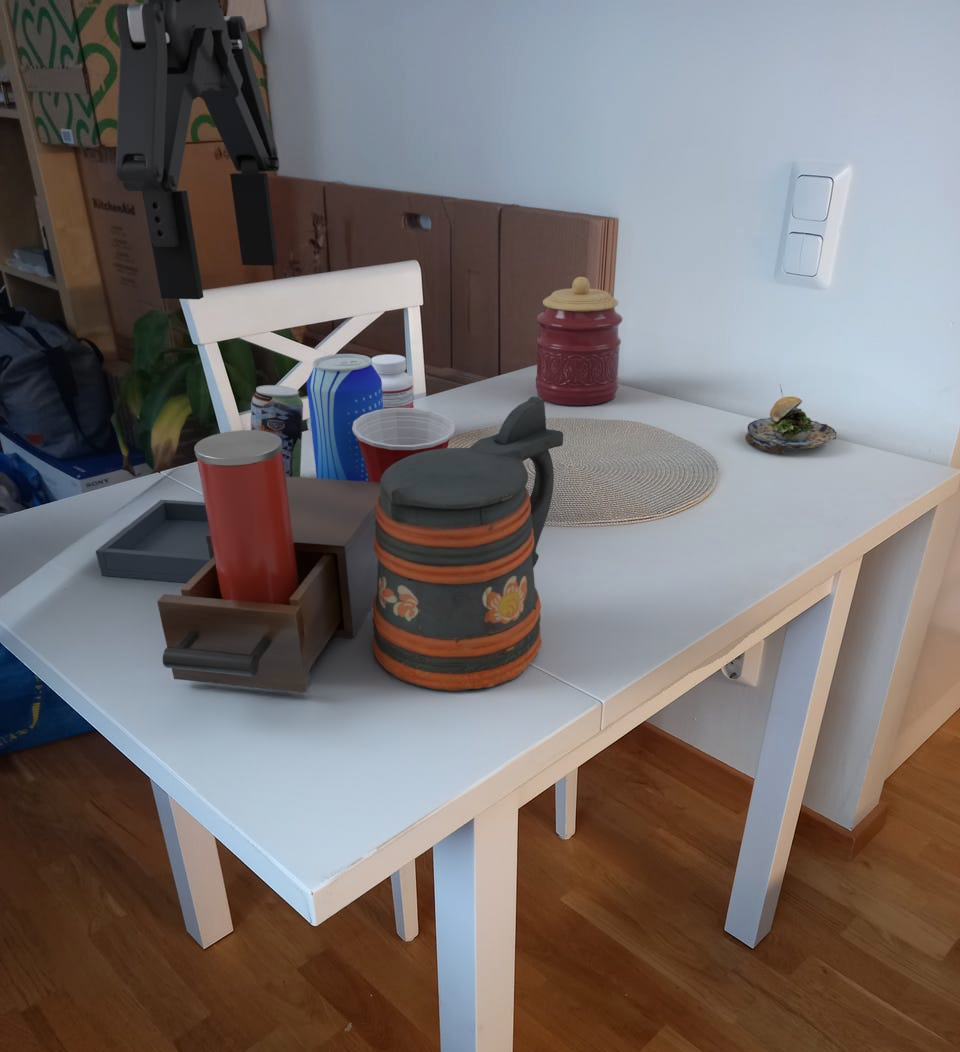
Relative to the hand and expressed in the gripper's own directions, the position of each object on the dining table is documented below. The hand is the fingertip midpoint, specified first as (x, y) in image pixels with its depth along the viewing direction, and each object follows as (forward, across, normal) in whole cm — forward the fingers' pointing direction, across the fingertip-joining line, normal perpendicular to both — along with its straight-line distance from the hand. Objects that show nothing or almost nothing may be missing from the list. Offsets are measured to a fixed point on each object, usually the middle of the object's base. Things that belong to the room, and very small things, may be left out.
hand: (224, 280), depth 68 cm
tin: (+28, -4, -1) cm, 28 cm away
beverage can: (+30, +34, +13) cm, 48 cm away
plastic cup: (+30, +24, -6) cm, 39 cm away
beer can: (+30, +32, +3) cm, 44 cm away
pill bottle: (+30, +53, +4) cm, 62 cm away
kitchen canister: (+30, +78, -20) cm, 86 cm away
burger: (+30, +60, -50) cm, 84 cm away
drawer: (+29, -6, -1) cm, 30 cm away
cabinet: (+30, +7, -1) cm, 31 cm away
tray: (+30, +14, +15) cm, 37 cm away
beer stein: (+30, +2, -18) cm, 35 cm away
